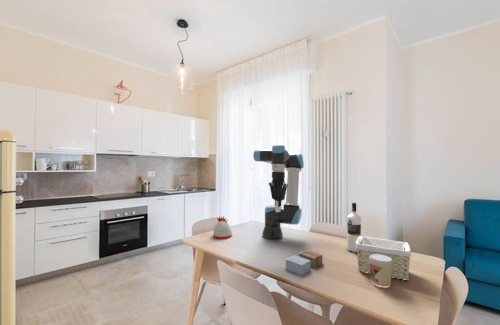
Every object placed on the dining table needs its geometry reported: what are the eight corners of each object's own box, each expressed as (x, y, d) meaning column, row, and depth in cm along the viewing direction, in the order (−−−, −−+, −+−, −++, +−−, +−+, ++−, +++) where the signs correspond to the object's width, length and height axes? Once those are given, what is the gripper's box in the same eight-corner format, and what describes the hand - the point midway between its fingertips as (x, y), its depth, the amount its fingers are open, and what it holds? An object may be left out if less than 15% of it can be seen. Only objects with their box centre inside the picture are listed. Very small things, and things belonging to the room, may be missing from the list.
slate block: (294, 255, 129) (310, 260, 122) (294, 264, 129) (310, 270, 122) (285, 259, 124) (301, 265, 116) (285, 268, 124) (301, 275, 116)
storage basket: (354, 271, 121) (354, 242, 121) (358, 260, 134) (358, 234, 135) (411, 284, 108) (411, 252, 108) (409, 270, 122) (409, 242, 122)
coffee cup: (364, 279, 113) (365, 253, 113) (383, 278, 113) (383, 253, 113) (377, 289, 103) (377, 261, 103) (397, 288, 104) (397, 261, 104)
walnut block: (306, 249, 137) (322, 254, 130) (306, 258, 137) (322, 263, 130) (298, 253, 132) (314, 258, 125) (298, 262, 132) (314, 268, 125)
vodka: (365, 251, 148) (365, 203, 148) (353, 253, 145) (353, 204, 145) (354, 247, 157) (354, 201, 157) (342, 248, 153) (343, 202, 154)
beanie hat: (216, 233, 186) (216, 213, 186) (233, 233, 184) (233, 214, 184) (210, 238, 172) (211, 217, 172) (229, 239, 170) (229, 218, 171)
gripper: (265, 171, 141) (265, 210, 141) (283, 171, 132) (282, 214, 132) (273, 171, 146) (273, 209, 146) (291, 171, 137) (291, 212, 137)
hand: (278, 211), depth 139 cm, fingers closed
